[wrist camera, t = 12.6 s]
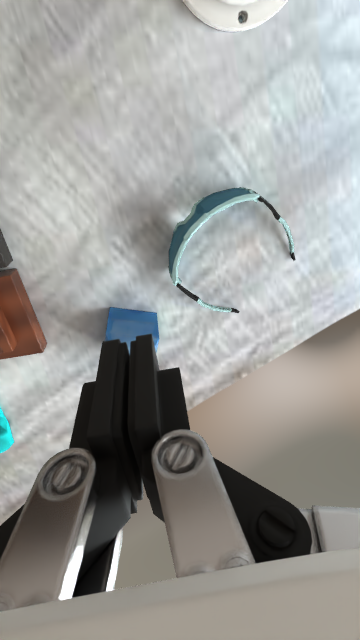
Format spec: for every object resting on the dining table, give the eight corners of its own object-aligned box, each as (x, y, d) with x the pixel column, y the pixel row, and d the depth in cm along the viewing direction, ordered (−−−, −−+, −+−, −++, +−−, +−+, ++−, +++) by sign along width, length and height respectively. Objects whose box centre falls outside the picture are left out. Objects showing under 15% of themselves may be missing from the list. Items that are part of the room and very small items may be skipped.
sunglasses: (226, 158, 35) (243, 167, 31) (298, 241, 42) (319, 256, 38) (143, 255, 39) (149, 274, 35) (222, 313, 47) (234, 334, 43)
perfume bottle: (110, 307, 42) (101, 364, 32) (156, 312, 43) (162, 369, 33) (105, 345, 45) (96, 409, 35) (149, 350, 46) (152, 412, 36)
